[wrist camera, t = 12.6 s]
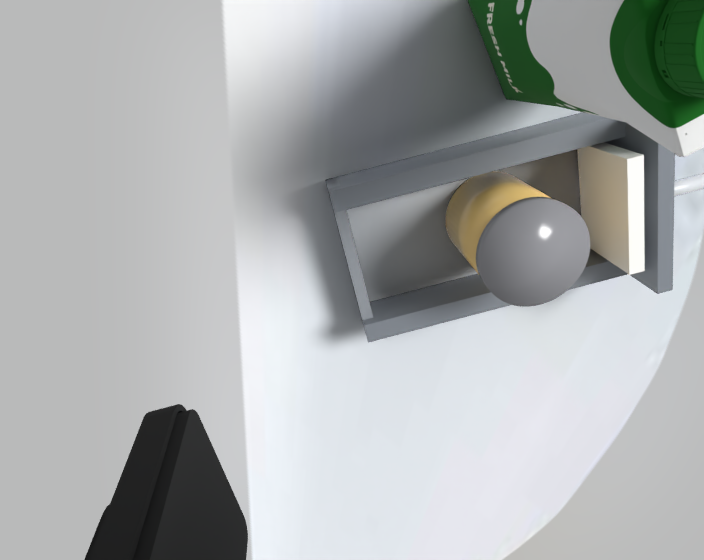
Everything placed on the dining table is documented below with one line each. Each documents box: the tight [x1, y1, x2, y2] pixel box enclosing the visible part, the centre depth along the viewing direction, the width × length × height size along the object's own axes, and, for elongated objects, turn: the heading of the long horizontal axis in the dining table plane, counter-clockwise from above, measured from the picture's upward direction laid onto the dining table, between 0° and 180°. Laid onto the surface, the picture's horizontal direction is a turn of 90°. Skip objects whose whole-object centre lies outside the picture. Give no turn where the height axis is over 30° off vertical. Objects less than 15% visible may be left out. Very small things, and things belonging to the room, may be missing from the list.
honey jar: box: [445, 171, 590, 306], centre depth 35 cm, size 7×7×8 cm
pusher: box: [577, 142, 704, 275], centre depth 36 cm, size 8×8×6 cm
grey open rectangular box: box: [326, 112, 675, 342], centre depth 36 cm, size 11×20×6 cm, turn 103°
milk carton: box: [468, 0, 704, 157], centre depth 25 cm, size 9×9×20 cm
